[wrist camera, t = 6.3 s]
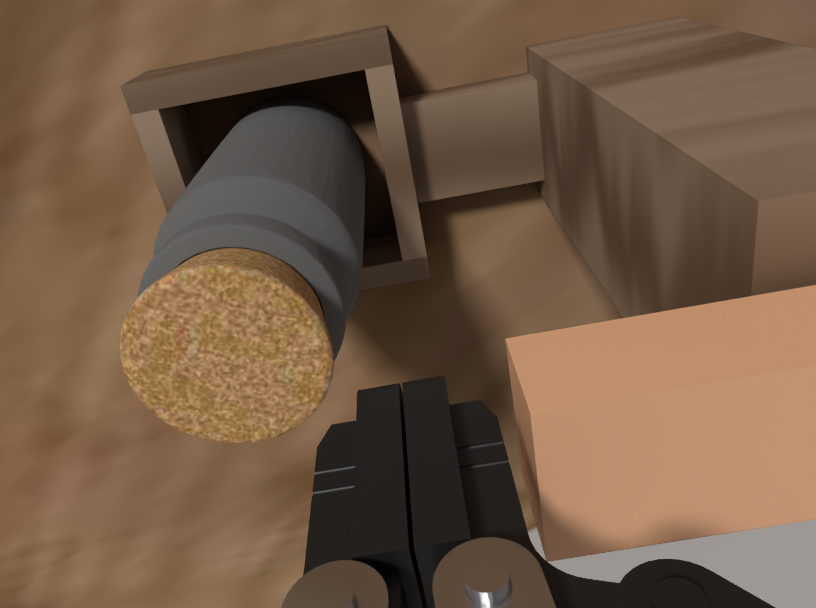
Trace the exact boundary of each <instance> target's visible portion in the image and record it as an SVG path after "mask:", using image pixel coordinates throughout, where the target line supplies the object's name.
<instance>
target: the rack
mask: <svg viewBox="0 0 816 608" xmlns="http://www.w3.org/2000/svg"><path fill="white" fill-rule="evenodd" d="M526 51H527V63H528V73H526V74H520V75H515V76H510V77H505V78H499V79H494V80H489V81H483V82H478V83H473V84H468V85H462V86H457V87H452V88H447V89H441V90H436V91H431V92H426V93H420V94H415V95H410V96H405V97H399V95H398V89H397V84H396V78H395V72H394V67H393V61H392V56H391V50H390V44H389V39H388V33H387V27H386V25H384V26H378V27H373V28H368V29H363V30H358V31H353V32H348V33H343V34H337V35H332V36H327V37H322V38H317V39H312V40H307V41H302V42H296V43H291V44H286V45H281V46H276V47H271V48H266V49H260V50H255V51H250V52H245V53H240V54H235V55H230V56H225V57H219V58H214V59H209V60H204V61H199V62H194V63H189V64H184V65H178V66H173V67H168V68H163V69H158V70H153V71H148V72H145V73H143V74H141V75H139V76H138V77H136V78H134V79H132V80H130V81H129V82H127V83H125V84H123V85H121V89H122V92H123V94H124V97H125V100H126V103H127V105H128V108H129V111H130V113H131V116H132V119H133V122H134V124H135V127H136V130H137V132H138V135H139V138H140V141H141V143H142V146H143V149H144V151H145V154H146V157H147V160H148V162H149V165H150V168H151V170H152V173H153V176H154V179H155V181H156V184H157V187H158V189H159V192H160V195H161V197H162V200H163V203H164V206H165V208H166V211H167V214H168V213H169V211H170V210H171V208H172V207H173V205H174V204H175V202H176V201H177V199H178V198H179V197H180V195H181V194H182V193H183V191H184V190H185V189H186V188H187V186H188V185H189V184H190V182H191V181H192V180H193V178H194V177H195V176H196V174H197V173H198V172H199V170H200V169H201V168H202V167H203V163H202V160H201V157H200V153H199V150H198V147H197V144H196V141H195V138H194V135H193V132H192V129H191V126H190V123H189V120H188V117H187V114H186V111H185V108H184V104H189V103H194V102H199V101H204V100H210V99H215V98H220V97H225V96H230V95H236V94H241V93H246V92H251V91H256V90H262V89H267V88H272V87H277V86H282V85H288V84H293V83H298V82H303V81H308V80H314V79H319V78H324V77H329V76H334V75H340V74H345V73H350V72H355V71H360V70H365V73H366V78H367V83H368V88H369V93H370V98H371V103H372V108H373V113H374V118H375V123H376V128H377V134H378V139H379V144H380V149H381V154H382V159H383V164H384V169H385V174H386V179H387V184H388V189H389V194H390V199H391V204H392V209H393V215H394V220H395V225H396V230H397V233H396V234H390V235H385V236H379V237H374V238H368V239H364V240H363V264H362V275H361V284H360V290H359V291H363V290H368V289H374V288H379V287H385V286H391V285H396V284H402V283H408V282H413V281H419V280H424V279H430V278H431V276H430V270H429V264H428V258H427V253H426V247H425V241H424V236H423V230H422V224H421V219H420V213H419V207H418V203H422V202H427V201H433V200H438V199H444V198H449V197H454V196H460V195H465V194H471V193H476V192H482V191H487V190H493V189H498V188H504V187H509V186H515V185H520V184H526V183H531V182H536V181H538V191H539V193H540V194H541V196H542V197H543V199H544V200H545V202H546V203H547V205H548V206H549V208H550V209H551V211H552V212H553V214H554V215H555V217H556V218H557V220H558V221H559V222H560V224H561V225H562V227H563V228H564V230H565V231H566V233H567V234H568V236H569V237H570V239H571V240H572V242H573V243H574V245H575V246H576V248H577V249H578V251H579V252H580V254H581V255H582V257H583V258H584V260H585V261H586V263H587V264H588V266H589V267H590V269H591V270H592V272H593V273H594V275H595V276H596V278H597V279H598V281H599V282H600V284H601V285H602V287H603V288H604V290H605V291H606V293H607V294H608V296H609V297H610V299H611V300H612V301H613V303H614V304H615V306H616V307H617V309H618V310H619V312H620V313H621V315H622V316H623V318H628V317H633V316H639V315H645V314H651V313H656V312H662V311H668V310H674V309H680V308H685V307H691V306H697V305H703V304H708V303H714V302H720V301H726V300H731V299H737V298H743V297H749V296H755V295H760V294H766V293H772V292H778V291H783V290H789V289H795V288H801V287H806V286H812V285H816V49H812V48H807V47H803V46H799V45H795V44H790V43H786V42H782V41H778V40H773V39H769V38H765V37H761V36H756V35H752V34H748V33H744V32H739V31H735V30H731V29H727V28H723V27H718V26H714V25H710V24H706V23H701V22H697V21H693V20H689V19H684V18H680V17H679V18H673V19H668V20H663V21H658V22H653V23H647V24H642V25H637V26H632V27H626V28H621V29H616V30H611V31H606V32H600V33H595V34H590V35H585V36H580V37H574V38H569V39H564V40H559V41H553V42H548V43H543V44H538V45H533V46H527V47H526Z"/></svg>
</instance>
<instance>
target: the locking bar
mask: <svg viewBox="0 0 816 608" xmlns="http://www.w3.org/2000/svg"><path fill="white" fill-rule="evenodd" d="M505 340H506V348H507V356H508V364H509V372H510V380H511V388H512V396H513V404H514V412H515V420H516V428H517V436H518V445H519V453H520V461H521V469H522V475H523V479H524V483H525V486H526V490H527V493H528V497H529V500H530V504H531V507H532V511H533V515H534V518H535V522H536V525H537V529H538V532H539V536H540V539H541V543H542V546H543V550H544V554H545V557H546V561H547V562H548V561H554V560H561V559H567V558H573V557H580V556H586V555H592V554H599V553H605V552H611V551H617V550H624V549H630V548H636V547H643V546H648V545H655V544H662V543H667V542H674V541H681V540H686V539H693V538H699V537H706V536H712V535H718V534H725V533H731V532H737V531H744V530H749V529H756V528H762V527H769V526H775V525H781V524H788V523H793V522H800V521H807V520H812V519H816V285H812V286H806V287H801V288H795V289H789V290H783V291H778V292H772V293H766V294H760V295H755V296H749V297H743V298H737V299H731V300H726V301H720V302H714V303H708V304H703V305H697V306H691V307H685V308H680V309H674V310H668V311H662V312H656V313H651V314H645V315H639V316H633V317H628V318H622V319H616V320H610V321H605V322H599V323H593V324H587V325H581V326H576V327H570V328H564V329H558V330H553V331H547V332H541V333H535V334H530V335H524V336H518V337H512V338H506V339H505Z"/></svg>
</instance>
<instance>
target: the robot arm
mask: <svg viewBox="0 0 816 608" xmlns="http://www.w3.org/2000/svg"><path fill="white" fill-rule="evenodd" d="M281 608H775V607H773V606H771V605H770V604H768V603H766V602H765V601H762V600H761V599H759V598H758V597H756V596H754V595H752V594H751V593H749V592H747V591H745V590H743V589H742V588H740V587H738V586H737V585H734V584H733V583H731V582H730V581H728V580H726V579H724V578H722V577H721V576H719V575H717V574H716V573H714V572H712V571H710V570H708V569H706V568H704V567H702V566H700V565H697V564H694V563H691V562H687V561H682V560H675V559H658V560H653V561H648V562H646V563H643V564H640V565H639V566H637V567H635V568H633V569H632V570H631V571H630V572H629V573H627V574H626V575H625V576H624V578H623V579H622V581H621V582H620V583H613V582H607V581H599V580H592V579H586V578H581V577H576V576H573V575H570V574H567V573H565V572H563V571H561V570H559V569H557V568H555V567H554V566H552V565H551V564H549V563H548V562H547V561H546V560H544V559H543V558H542V557H541V556H540V555H539V553H538V552H537V551H536V550H535V548H534V547H533V545H532V543H531V541H530V538H529V535H528V532H527V528H526V524H525V521H524V517H523V513H522V509H521V505H520V502H519V498H518V494H517V490H516V487H515V483H514V479H513V475H512V471H511V468H510V464H509V461H508V456H507V452H506V449H505V445H504V442H503V437H502V434H501V430H500V426H499V422H498V418H497V417H496V416H495V415H494V414H493V413H492V412H491V411H490V410H489V409H488V408H487V407H486V406H485V405H484V404H483V403H482V402H481V401H480V400H476V401H470V402H464V403H458V404H452V405H449V402H448V396H447V390H446V384H445V379H444V376H440V377H434V378H428V379H422V380H416V381H410V382H404V383H403V393H402V389H401V386H400V383H399V384H393V385H387V386H381V387H375V388H369V389H363V390H358V392H357V416H356V421H351V422H345V423H339V424H333V425H331V427H330V428H329V430H328V431H327V433H326V434H325V436H324V438H323V439H322V441H321V442H320V444H319V445H318V447H317V455H316V464H315V476H314V483H313V496H312V502H311V511H310V520H309V530H308V539H307V548H306V557H305V567H304V573H303V576H302V577H301V578H300V579H299V580H298V581H297V582H296V583H295V584H294V585H293V586H292V587H291V589H290V590H289V592H288V593H287V595H286V597H285V599H284V601H283V603H282V607H281Z"/></svg>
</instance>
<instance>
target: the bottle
mask: <svg viewBox="0 0 816 608" xmlns="http://www.w3.org/2000/svg"><path fill="white" fill-rule="evenodd" d="M364 214H365V162H364V156H363V152H362V149H361V146H360V143H359V141H358V138H357V137H356V135H355V133H354V132H353V130H352V129H351V128H350V126H349V125H348V124H347V122H346V121H345V120H344V119H343V118H342V117H341V116H340V115H338V114H337V113H336V112H334V111H333V110H331V109H330V108H328V107H327V106H325V105H323V104H321V103H318V102H315V101H312V100H309V99H305V98H296V97H284V98H277V99H274V100H270V101H266V102H264V103H262V104H260V105H258V106H256V107H254V108H253V109H251V110H250V111H249V112H247V113H246V114H245V115H244V116H243V117H242V118H241V119H240V120H239V121H238V122H237V124H236V125H235V126H234V127H233V128H232V130H231V131H230V132H229V133H228V135H227V136H226V137H225V138H224V140H223V141H222V142H221V143H220V145H219V146H218V147H217V148H216V150H215V151H214V152H213V153H212V155H211V156H210V157H209V159H208V160H207V161H206V163H205V164H204V165H203V167H202V168H201V169H200V170H199V172H198V173H197V174H196V176H195V177H194V178H193V180H192V181H191V182H190V184H189V185H188V186H187V188H186V189H185V190H184V191H183V193H182V194H181V195H180V197H179V198H178V199H177V201H176V202H175V204H174V205H173V207H172V208H171V210H170V211H169V213H168V215H167V216H166V218H165V220H164V221H163V223H162V225H161V228H160V230H159V233H158V237H157V240H156V243H155V250H154V258H153V259H152V260H151V262H150V264H149V265H148V267H147V269H146V271H145V273H144V275H143V278H142V281H141V284H140V287H139V292H138V298H137V299H136V300H135V302H134V303H133V304H132V306H131V308H130V310H129V312H128V314H127V316H126V318H125V321H124V323H123V326H122V330H121V337H120V356H121V362H122V365H123V369H124V373H125V376H126V377H127V379H128V381H129V383H130V385H131V387H132V389H133V391H134V392H135V393H136V395H137V396H138V397H139V399H140V400H141V401H142V403H143V404H144V405H145V406H146V407H147V408H148V409H149V410H151V411H152V412H153V413H154V414H155V415H156V416H157V417H158V418H160V419H161V420H163V421H164V422H166V423H167V424H169V425H171V426H173V427H174V428H176V429H178V430H180V431H182V432H184V433H187V434H190V435H192V436H195V437H199V438H202V439H205V440H209V441H214V442H221V443H251V442H258V441H262V440H267V439H270V438H274V437H277V436H280V435H282V434H284V433H286V432H288V431H290V430H292V429H294V428H296V427H297V426H298V425H300V424H301V423H302V422H304V421H305V420H306V419H308V418H309V417H310V416H311V415H312V414H313V413H314V412H315V410H316V409H317V408H318V406H319V405H320V404H321V402H322V401H323V399H324V398H325V396H326V394H327V391H328V389H329V386H330V383H331V380H332V376H333V368H334V361H335V359H336V357H337V354H338V352H339V350H340V348H341V345H342V342H343V337H344V332H345V328H346V321H347V319H348V317H349V316H350V314H351V312H352V310H353V309H354V306H355V304H356V301H357V297H358V294H359V290H360V284H361V275H362V264H363V240H364Z"/></svg>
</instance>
